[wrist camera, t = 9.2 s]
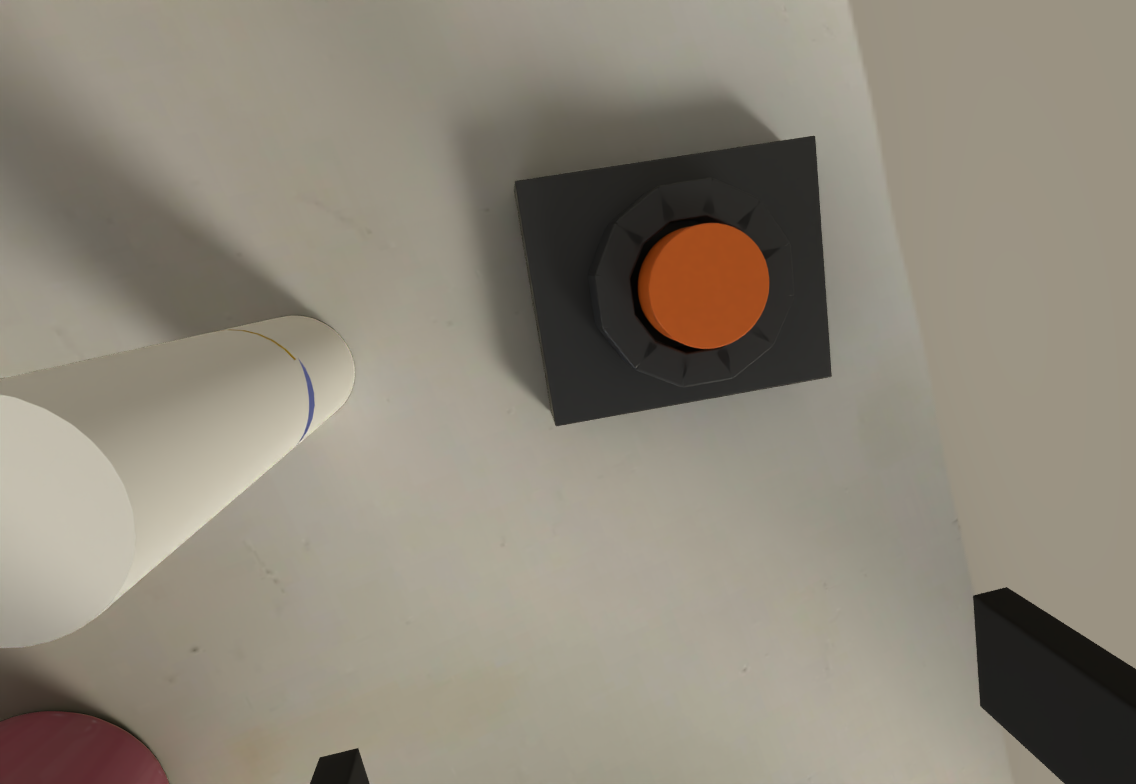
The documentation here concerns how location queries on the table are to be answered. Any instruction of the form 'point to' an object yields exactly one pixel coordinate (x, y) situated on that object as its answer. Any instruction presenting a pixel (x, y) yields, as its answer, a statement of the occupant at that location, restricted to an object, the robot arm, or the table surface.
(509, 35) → the table surface
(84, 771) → the flower pot
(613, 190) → the button box
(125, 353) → the tube
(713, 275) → the button
